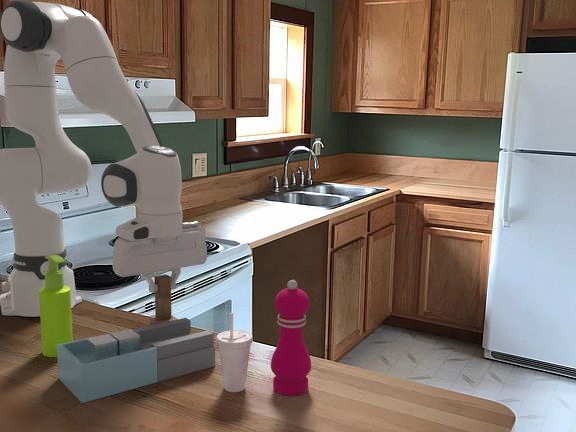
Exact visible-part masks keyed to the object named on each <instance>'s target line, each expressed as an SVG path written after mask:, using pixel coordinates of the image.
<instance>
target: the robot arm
mask: <svg viewBox="0 0 576 432" xmlns="http://www.w3.org/2000/svg"><path fill="white" fill-rule="evenodd" d="M0 33H1V36H2V39H3V40H4V41H5V43H6V44H7V45H6V49H5V56H4V66H3V67H4V69H3V84H4V98H5V99H4V100H5V115H6V118H7V121H8V123H10V125H11V126H12V127H13V128H15V129H17V130H19V131H20V132H23V133H25V134H27V135H30V136H31V137H32V138H33V140H34V142H35V146H34V147H13V148H0V205H1V206H2V207H3V208H4V210H5V211H6V213H7V215H8V216H9V219H10V222H11V226H12V227H11V228H12V232H13V242H14V253H13V256H12V257H13V258H12V262H13V263H12V266H13V268H12V271H11V272H10V274H9V275H8V276H7V281H2V282H1V292H4V293H2V294H0V312H1V315H2V316H18V317H19V316H20V317H31V318H32V317H35V318H37V317H40V302H39V290H40V289H42V288H44V287H45V272H47V271H48V270H49V260H48V259H46V256H48V255H59V256H61V257H62V258H63V259H64V260H65V261H66V262H65V263H61V264H58V269H59V270H60V271H63V283H64V286H68V287H70V290H71V309H73V308H74V306H75V305H77V304H79V303H81V302H83V299H82V296H80V295H77V294H76V283H75V275H74V270H72V269H71V268H70V267H68V266H67V264H68V252H67V250H66V248H65V234H64V222H63V219H62V218H61V216H60V215H59V214H58V213H56V212H55V211H53V210H51V209H50V208H46V207H43V206H41V205H39V204H38V202H37V199H36V196H37V195H43V194H45V195H46V194H58V193H59V194H61V193H62V194H63V193H68V192H72V191H76V190H80V189H83V188H85V187H86V186H87V185H88V184H89V183H90V180H91V177H92V174H93V173H92V172H93V171H92V170H93V167H92V163H91V160H90V157H89V156H88V154H86V152H85V151H84V150H82V149H81V148H79V147H78V146H77V145H75V144H74V143H73V141H71V139H70V138H69V137H68V136H67V133H66V132H65V131H64V128H63V126H62V123H61V119H60V114H59V109H58V106H59V105H58V98H57V97H58V96H57V84H56V81H57V80H56V75H55V74H56V72H55V71H56V65H57V62H59V60H60V59H61V60H62V64H63V67H64V71H65V74H66V77H67V83H69V84H68V85H69V87H70V90H71V92H72V93H73V95H74V97H75V98H76V99H77V101H78V102H79V103H80V104H81V105H83V106H85V107H87V109H89V110H92V111H95V112H98V113H99V114H103V115H106V116H107V117H110V118H111V119H114V120H115V121H117V122H118V123H119V124H121V126H122V127H123V128H124V129H125V130H126V132H127V134H128V136H129V138H130V140H131V142H132V145H133V147H134V150H135V151H136V153H135V154H133V155H132V156H130V157H128V158H125V159H123V160H119V161H117V162H113V163H110V164H108V165H107V166H106V167H105V168H104V171H103V173H102V175H101V180H100V182H101V183H100V186H101V191H102V194H103V196H104V198H105V200H106V201H107V202H109V204H111V206H114V207H122V208H129V207H134V206H137V207H138V216H136V217H134V218H133V219H130V220H128V221H125V222H124V223H121V224H119V225H117V226H116V228H115V234H116V236H117V237H118V238H117V239H116V240H115V241H114V244H113V248H112V249H113V250H112V270H113V272H114V273H115V274H116V275H117V276H119V277H121V278H124V277H125V278H126V277H131V276H132V277H133V276H137V275H142V277H143V278H144V280H145V281H146V282H147V284H148V291H149V293H151V294H155V292H159V289H158V288H159V284H157V283H155V282H154V279H153V278H154V276H155V273H157V272H163V271H164V272H165V271H170V272H171V275H170V276H171V290H175V289H177V281H178V279H179V276H180V275H181V270H182V269H181V268H187V267H194V266H199V265H200V266H201V265H204V264H205V263H206V262H207V260H208V251H207V250H208V249H207V241H206V239H205V238H206V227H205V226H204V224H203V223H200V222H199V221H193V222H183V207H182V204H181V197H182V196H181V195H182V193H183V192H182V190H183V182H182V181H183V178H182V177H183V176H182V167H181V166H182V165H181V162H180V158H179V155H178V153H177V151H175V150H174V149H171V148H169V147H166V146H164V144H163V142H162V139H161V137H160V136H159V133H158V130H157V129H156V127H155V124H154V122H153V120H152V118H151V116H150V113H149V111H148V109H147V107H146V105H145V103H144V102H143V100H142V98H141V97H140V95H139V94H138V93H137V92H136V91H135V90H134V89H133V88H132V86H131V85H130V84H129V81H128V80H127V78H126V77H125V75H124V72H123V71H122V69H121V66H120V64H119V60H118V58H117V55H116V53H115V49H114V47H113V44H112V43H111V40H110V38H109V36H108V34H107V32H106V30H105V29H104V27H103V24H101V22H100V21H99V20H98V19H96V18H95V17H94V16H93V15H92V14H91V13H89V12H87V11H85V10H84V9H81V8H78V7H71V6H68V5H64V4H60V3H58V2H57V3H56V2H43V1H31V0H13V1H10V2H8V3H6V5H5V6H4V7H3V9H2V11H1V13H0Z"/></svg>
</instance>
